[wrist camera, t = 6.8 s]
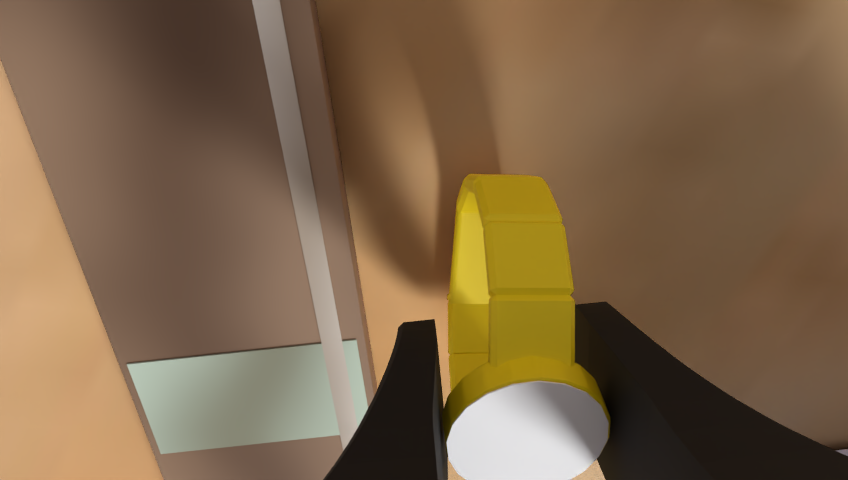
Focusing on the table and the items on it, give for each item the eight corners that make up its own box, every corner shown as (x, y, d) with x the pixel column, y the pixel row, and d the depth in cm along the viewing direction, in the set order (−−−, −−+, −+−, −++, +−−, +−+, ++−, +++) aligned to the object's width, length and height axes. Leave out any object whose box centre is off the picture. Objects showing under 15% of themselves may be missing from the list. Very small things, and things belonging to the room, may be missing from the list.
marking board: (255, -375, 11) (243, -399, 10) (393, 491, 20) (394, 520, 19) (-117, -338, 11) (-163, -359, 10) (196, 513, 20) (187, 542, 19)
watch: (520, 337, 18) (576, 549, 13) (416, 337, 18) (433, 553, 13) (558, 131, 14) (653, 312, 9) (430, 128, 14) (460, 313, 9)
